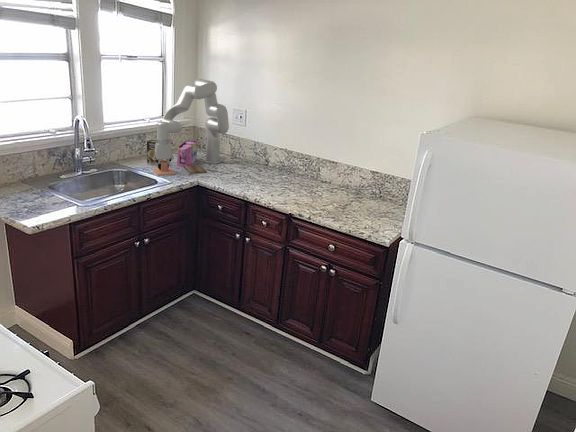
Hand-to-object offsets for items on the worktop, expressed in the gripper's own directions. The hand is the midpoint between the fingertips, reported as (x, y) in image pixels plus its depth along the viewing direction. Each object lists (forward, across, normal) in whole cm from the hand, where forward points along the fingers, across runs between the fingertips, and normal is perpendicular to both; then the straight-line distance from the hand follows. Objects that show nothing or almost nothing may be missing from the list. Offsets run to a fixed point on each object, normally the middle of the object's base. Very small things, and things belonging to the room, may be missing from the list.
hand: (163, 168), depth 301 cm
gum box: (+3, -22, -18) cm, 28 cm away
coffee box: (+3, +1, -18) cm, 19 cm away
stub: (+2, 0, 0) cm, 2 cm away
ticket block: (+2, -21, 0) cm, 21 cm away
